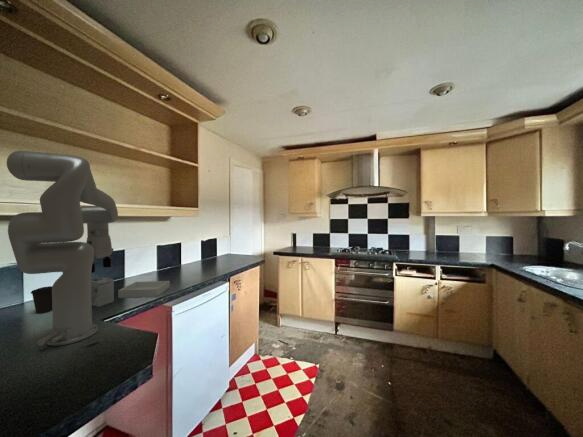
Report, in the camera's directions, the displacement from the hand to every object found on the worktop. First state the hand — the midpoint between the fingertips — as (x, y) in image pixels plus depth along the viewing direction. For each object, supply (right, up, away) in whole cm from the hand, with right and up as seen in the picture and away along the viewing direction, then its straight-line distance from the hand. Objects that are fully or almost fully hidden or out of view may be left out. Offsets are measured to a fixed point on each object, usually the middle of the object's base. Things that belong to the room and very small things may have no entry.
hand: (99, 269), depth 106 cm
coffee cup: (-15, -16, -9) cm, 24 cm away
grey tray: (+14, -15, +13) cm, 24 cm away
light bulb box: (0, -16, 0) cm, 16 cm away
